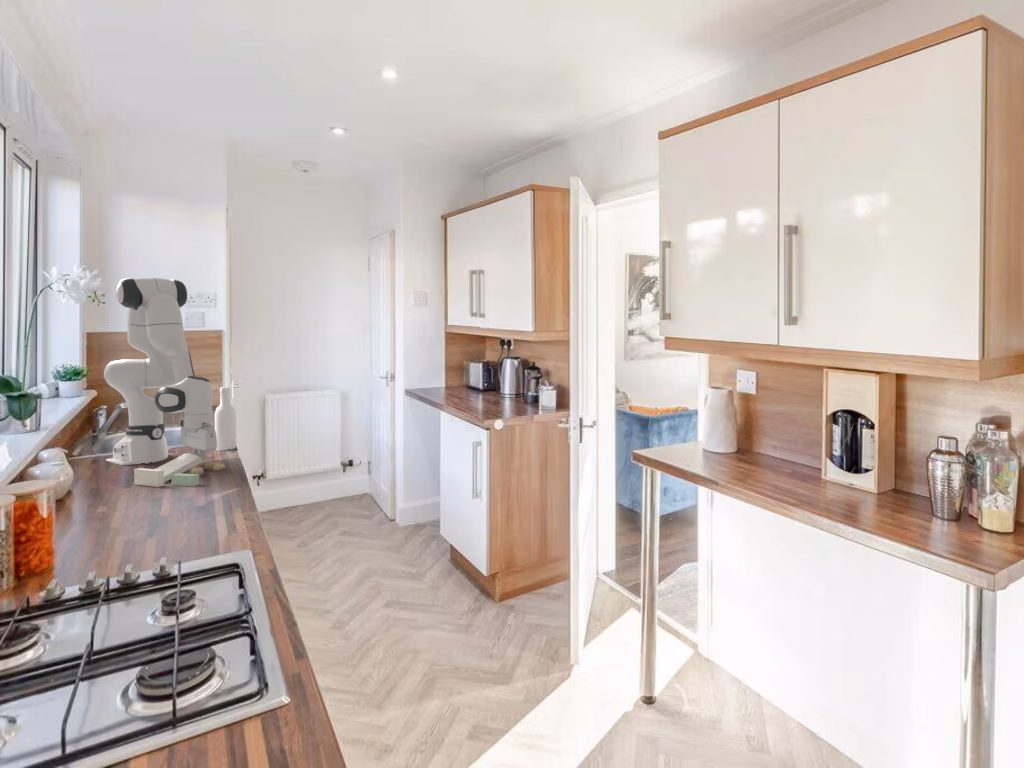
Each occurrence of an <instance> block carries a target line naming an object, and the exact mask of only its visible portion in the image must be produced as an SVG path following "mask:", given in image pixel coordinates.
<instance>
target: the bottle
mask: <svg viewBox="0 0 1024 768" xmlns="http://www.w3.org/2000/svg"><path fill="white" fill-rule="evenodd" d="M219 403H220V404H219V405H218V406H217V407H216V409H215V412H214V429H215V431H216V437H217V448H216V450H215V451H229V450H228V449H230V450H233V449H236V448H237V411H236V409H235V407H234V406H233V405H231V387H227V386H225V387H223V386H222V387H220V388H219Z"/></svg>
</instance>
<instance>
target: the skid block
mask: <svg viewBox="0 0 1024 768" xmlns="http://www.w3.org/2000/svg"><path fill="white" fill-rule="evenodd" d="M170 480H171V486H178V487H181V486H182V487H195V486H199V485H200V476H199V474H182V473H178V474H173V475H171V479H170Z"/></svg>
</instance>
